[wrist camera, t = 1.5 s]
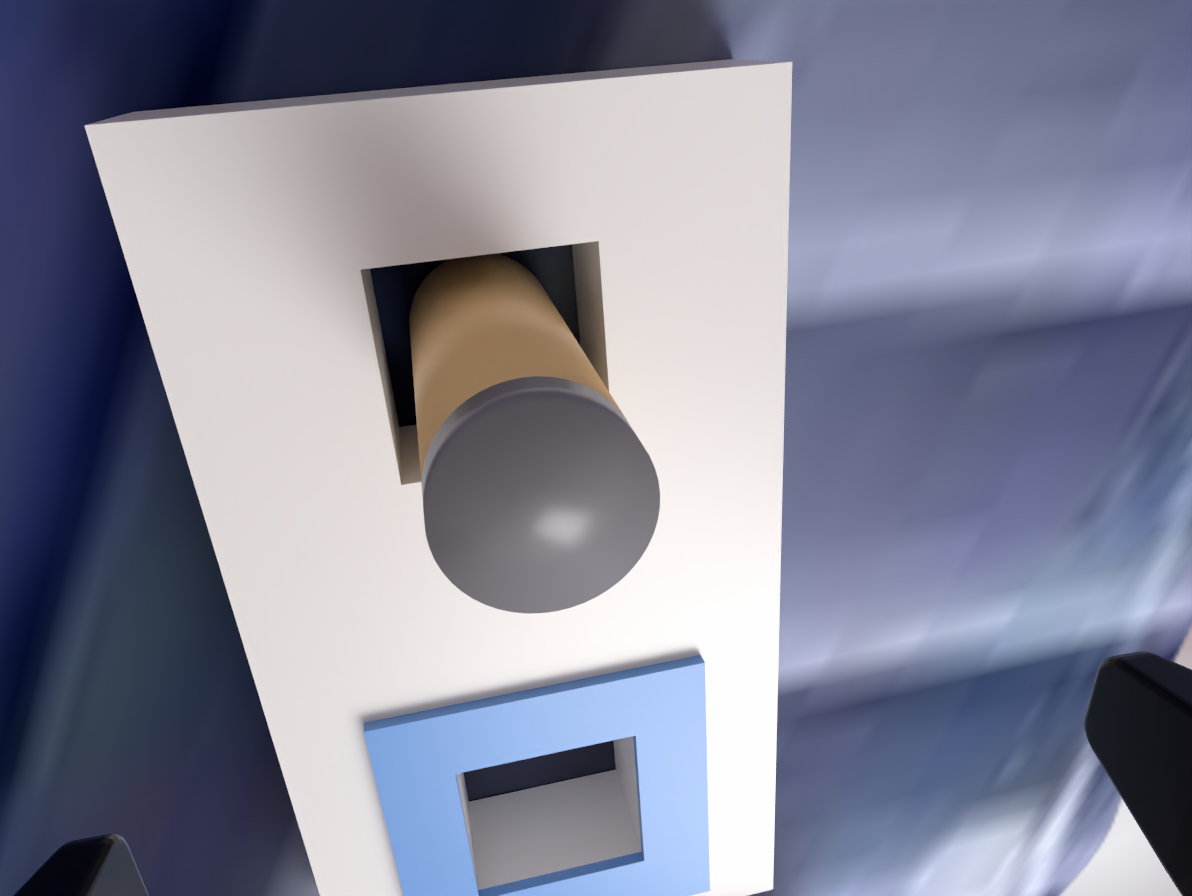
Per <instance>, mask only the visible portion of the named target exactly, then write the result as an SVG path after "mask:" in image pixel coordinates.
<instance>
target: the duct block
mask: <svg viewBox="0 0 1192 896" xmlns="http://www.w3.org/2000/svg"><path fill="white" fill-rule="evenodd" d="M791 94H792V62H785V61H765V60H745V59H728V60H717V61H705V62H694V63H683V64H671V65H660V66H648V67H637V68H626V69H614V70H603V71H592V72H580V73H569V74H558V75H546V76H535V77H524V78H512V79H501V80H490V81H478V82H467V83H456V84H444V85H433V86H422V87H410V88H399V89H388V90H376V91H365V92H353V93H342V94H331V95H319V96H308V97H297V98H285V99H274V100H263V101H251V102H240V103H229V104H217V105H206V106H195V107H183V108H172V109H161V110H149V111H138V112H131V113H127V114H124V115H120V116H116V117H113V118H109V119H105V120H102V121H98V122H95V123H91V124H87V125H84V126H85V129H86V133H87V136H88V139H89V142H90V146H91V149H92V152H93V155H94V159H95V162H96V165H97V168H98V172H99V175H100V178H101V182H102V185H103V188H104V191H105V195H106V198H107V201H108V204H109V208H110V211H111V214H112V217H113V221H114V224H115V227H116V231H117V234H118V237H119V240H120V244H121V247H122V250H123V253H124V257H125V260H126V263H127V266H128V270H129V273H130V276H131V280H132V283H133V286H134V289H135V293H136V296H137V299H138V302H139V306H140V309H141V312H142V315H143V319H144V322H145V325H146V329H147V332H148V335H149V338H150V342H151V345H152V348H153V351H154V355H155V358H156V361H157V365H158V368H159V371H160V374H161V378H162V381H163V384H164V387H165V391H166V394H167V397H168V400H169V404H170V407H171V410H172V414H173V417H174V420H175V423H176V427H177V430H178V433H179V436H180V440H181V443H182V446H183V449H184V453H185V456H186V459H187V463H188V466H189V469H190V472H191V476H192V479H193V482H194V485H195V489H196V492H197V495H198V498H199V502H200V505H201V508H202V512H203V515H204V518H205V521H206V525H207V528H208V531H209V534H210V538H211V541H212V544H213V547H214V551H215V554H216V557H217V561H218V564H219V567H220V570H221V574H222V577H223V580H224V583H225V587H226V590H227V593H228V596H229V600H230V603H231V606H232V610H233V613H234V616H235V619H236V623H237V626H238V629H239V632H240V636H241V639H242V642H243V645H244V649H245V652H246V655H247V659H248V662H249V665H250V668H251V672H252V675H253V678H254V681H255V685H256V688H257V691H258V694H259V698H260V701H261V704H262V708H263V711H264V714H265V717H266V721H267V724H268V727H269V730H270V734H271V737H272V740H273V743H274V747H275V750H276V753H277V757H278V760H279V763H280V766H281V770H282V773H283V776H284V779H285V783H286V786H287V789H288V792H289V796H290V799H291V802H292V806H293V809H294V812H295V815H296V819H297V822H298V825H299V828H300V832H301V835H302V838H303V841H304V845H305V848H306V851H307V855H308V858H309V861H310V864H311V868H312V871H313V874H314V877H315V881H316V884H317V887H318V891H319V894H320V896H748V895H752V894H756V893H760V892H764V891H768V890H772V889H773V869H774V826H775V783H776V740H777V697H778V654H779V611H780V568H781V524H782V481H783V438H784V395H785V352H786V309H787V266H788V223H789V180H790V137H791ZM570 244H572V252H573V264H574V276H575V288H576V300H577V312H578V324H579V336H580V347H581V348H582V350H583V351H584V353H585V355H586V356H587V358H588V359H589V361H590V363H591V364H592V366H593V367H594V369H595V370H596V372H597V374H598V375H599V377H600V378H601V380H602V381H603V383H604V385H605V386H606V388H607V389H608V391H609V393H610V394H611V396H612V397H613V399H614V400H615V402H616V404H617V405H618V407H619V408H620V410H621V412H622V413H623V415H624V416H625V418H626V419H627V421H628V423H629V424H630V426H631V427H632V429H633V430H634V432H635V434H636V435H637V437H638V438H639V440H640V442H641V443H642V445H643V446H644V448H645V449H646V451H647V453H648V454H649V456H650V458H651V460H652V463H653V465H654V467H655V470H656V474H657V477H658V481H659V489H660V510H659V516H658V521H657V525H656V528H655V531H654V534H653V536H652V539H651V541H650V543H649V545H648V547H647V549H646V550H645V552H644V554H643V555H642V557H641V558H640V560H639V561H638V562H637V563H636V565H635V566H634V567H633V568H632V570H631V571H630V572H629V573H628V574H627V575H626V576H625V577H624V578H623V579H622V580H620V581H619V582H618V583H617V584H615V585H614V586H613V587H611V588H610V589H609V590H607V591H605V592H604V593H602V594H601V595H599V596H597V597H595V598H593V599H591V600H589V601H587V602H585V603H583V604H580V605H577V606H574V607H571V608H568V609H564V610H560V611H555V612H547V613H530V614H527V613H515V612H509V611H504V610H500V609H496V608H493V607H490V606H487V605H485V604H483V603H481V602H479V601H476V600H474V599H472V598H471V597H469V596H468V595H466V594H465V593H463V592H462V591H460V590H459V589H458V588H457V587H456V586H455V585H454V584H452V583H451V582H450V581H449V579H448V578H447V577H446V576H445V575H444V574H443V572H442V571H441V569H440V568H439V566H438V565H437V563H436V561H435V560H434V558H433V555H432V553H431V551H430V548H429V545H428V541H427V537H426V533H425V523H424V511H423V498H422V485H421V472H420V459H419V446H418V433H417V425H410V426H403V427H399V422H398V417H397V411H396V406H395V400H394V395H393V390H392V384H391V379H390V373H389V368H388V363H387V357H386V352H385V346H384V341H383V336H382V330H381V325H380V319H379V314H378V309H377V303H376V298H375V292H374V287H373V282H372V276H371V271H370V268H379V267H387V266H395V265H404V264H412V263H420V262H429V261H437V260H445V259H454V258H462V257H470V256H479V255H487V254H495V253H504V252H512V251H520V250H529V249H537V248H545V247H554V246H562V245H570ZM608 741H613V744H614V756H615V768H616V770H611V771H607V772H602V773H598V774H593V775H588V776H584V777H579V778H575V779H570V780H566V781H561V782H557V783H552V784H547V785H543V786H538V787H534V788H529V789H525V790H520V791H516V792H511V793H507V794H502V795H497V796H493V797H488V798H484V799H479V800H475V801H470V802H469V800H468V795H467V789H466V784H465V778H464V773H463V772H468V771H472V770H477V769H482V768H486V767H491V766H496V765H500V764H505V763H510V762H514V761H519V760H524V759H528V758H533V757H538V756H543V755H547V754H552V753H557V752H561V751H566V750H571V749H575V748H580V747H585V746H589V745H594V744H599V743H603V742H608Z"/></svg>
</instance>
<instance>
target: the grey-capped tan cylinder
mask: <svg viewBox="0 0 1192 896" xmlns="http://www.w3.org/2000/svg"><path fill="white" fill-rule="evenodd" d="M409 329H410V342H411V355H412V368H413V381H414V394H415V407H416V420H417V433H418V446H419V459H420V472H421V485H422V498H423V511H424V523H425V533H426V537H427V541H428V545H429V548H430V551H431V553H432V555H433V558H434V560H435V561H436V563H437V565H438V566H439V568H440V569H441V571H442V572H443V574H444V575H445V576H446V577H447V578H448V579H449V581H450V582H451V583H452V584H454V585H455V586H456V587H457V588H458V589H459V590H460V591H462V592H463V593H465V594H466V595H468V596H469V597H471V598H472V599H474V600H476V601H479V602H481V603H483V604H485V605H487V606H490V607H493V608H496V609H500V610H504V611H509V612H515V613H527V614H530V613H547V612H555V611H560V610H564V609H568V608H571V607H574V606H577V605H580V604H583V603H585V602H587V601H589V600H591V599H593V598H595V597H597V596H599V595H601V594H602V593H604V592H605V591H607V590H609V589H610V588H611V587H613V586H614V585H615V584H617V583H618V582H619V581H620V580H622V579H623V578H624V577H625V576H626V575H627V574H628V573H629V572H630V571H631V570H632V568H633V567H634V566H635V565H636V563H637V562H638V561H639V560H640V558H641V557H642V555H643V554H644V552H645V550H646V549H647V547H648V545H649V543H650V541H651V539H652V536H653V534H654V531H655V528H656V525H657V521H658V516H659V510H660V489H659V481H658V477H657V474H656V470H655V467H654V465H653V463H652V460H651V458H650V456H649V454H648V453H647V451H646V449H645V448H644V446H643V445H642V443H641V442H640V440H639V438H638V437H637V435H636V434H635V432H634V430H633V429H632V427H631V426H630V424H629V423H628V421H627V419H626V418H625V416H624V415H623V413H622V412H621V410H620V408H619V407H618V405H617V404H616V402H615V400H614V399H613V397H612V396H611V394H610V393H609V391H608V389H607V388H606V386H605V385H604V383H603V381H602V380H601V378H600V377H599V375H598V374H597V372H596V370H595V369H594V367H593V366H592V364H591V363H590V361H589V359H588V358H587V356H586V355H585V353H584V351H583V350H582V348H581V347H580V345H579V344H578V342H577V340H576V339H575V337H574V336H573V334H572V332H571V331H570V329H569V328H568V326H567V325H566V323H565V321H564V320H563V318H562V317H561V315H560V314H559V312H558V310H557V309H556V307H555V306H554V304H553V302H552V301H551V299H550V298H549V296H548V295H547V293H546V291H545V290H544V288H543V287H542V285H541V284H540V282H539V280H538V279H537V278H536V277H535V276H534V275H533V273H531V272H530V271H529V270H528V269H527V268H526V267H524V266H523V265H522V264H520V263H519V262H517V261H515V260H513V259H511V258H509V257H506V256H503V255H500V254H487V255H479V256H470V257H462V258H454V259H449V260H447V261H445V262H443V263H442V264H440V265H439V266H437V267H436V268H435V269H434V270H433V271H431V272H430V273H429V274H428V275H427V277H426V278H425V279H424V280H423V281H422V283H421V284H420V286H419V287H418V289H417V291H416V293H415V295H414V298H413V301H412V304H411V309H410V314H409Z"/></svg>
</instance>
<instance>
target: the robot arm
mask: <svg viewBox="0 0 1192 896" xmlns="http://www.w3.org/2000/svg"><path fill="white" fill-rule="evenodd" d="M1085 731H1086V736H1087V738H1088V741H1089V744H1090V746H1091V748H1092V749H1093V751H1094V753H1095V754H1096V756H1097V758H1098V759H1099V761H1100V763H1101V764H1102V766H1103V768H1104V769H1105V771H1106V773H1107V774H1108V776H1109V778H1110V779H1111V781H1112V782H1113V784H1114V786H1115V787H1116V789H1117V791H1118V792H1119V794H1120V796H1121V797H1122V799H1123V801H1124V802H1125V804H1126V806H1127V807H1128V809H1129V810H1130V812H1131V814H1132V815H1133V817H1134V819H1135V820H1136V822H1137V824H1138V825H1139V827H1140V828H1141V830H1142V832H1143V833H1144V835H1145V837H1146V838H1147V840H1148V842H1149V843H1150V845H1151V847H1152V848H1153V850H1154V852H1155V853H1156V855H1157V857H1158V858H1159V860H1160V862H1161V863H1162V865H1163V866H1164V868H1165V870H1166V871H1167V873H1168V874H1169V876H1170V877H1171V879H1172V881H1173V882H1174V884H1175V885H1176V887H1177V888H1178V890H1179V891H1180V893H1181V894H1182V896H1192V670H1191V669H1189V668H1186V667H1184V666H1182V665H1179V664H1177V663H1175V662H1172V661H1170V660H1167V659H1165V658H1163V657H1160V656H1158V655H1156V654H1153V653H1149V652H1134V653H1129V654H1123V655H1117V656H1112V657H1109V658H1106V659H1105V660H1104V661H1103V662H1102V663H1101V664H1100V666H1099V668H1098V671H1097V674H1096V678H1095V682H1094V686H1093V689H1092V693H1091V697H1090V701H1089V704H1088V708H1087V712H1086V716H1085ZM14 896H149V895H148V892H147V890H146V887H145V885H144V882H143V880H142V878H141V875H140V873H139V870H138V868H137V866H136V863H135V861H134V858H133V856H132V853H131V851H130V849H129V846H128V844H127V843H126V841H125V839H124V838H122V837H121V836H120V835H118V834H108V835H102V836H97V837H91V838H85V839H80V840H74V841H71V842H69V843H66V844H65V845H63V846H62V847H61V848H59V849H58V850H57V851H56V852H55V853H54V854H53V855H52V856H51V857H50V858H49V859H48V860H47V861H46V862H45V863H44V864H43V865H42V866H41V867H40V868H39V870H38V871H37V872H36V873H35V874H34V875H33V876H32V877H31V878H30V879H29V880H28V881H27V882H26V883H25V884H24V885H23V886H22V887H21V888H20V889H19V890H18V891H17V892H16V894H15V895H14Z"/></svg>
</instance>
